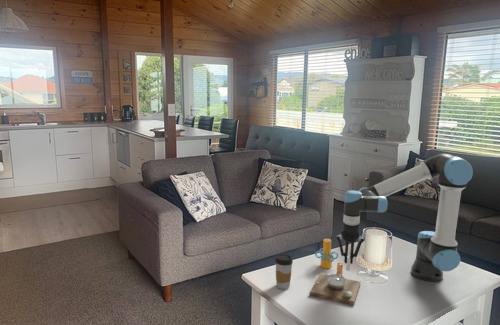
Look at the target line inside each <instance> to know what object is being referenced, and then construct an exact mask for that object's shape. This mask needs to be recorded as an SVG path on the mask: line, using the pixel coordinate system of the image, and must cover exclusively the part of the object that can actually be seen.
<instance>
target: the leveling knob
mask: <svg viewBox="0 0 500 325" xmlns="http://www.w3.org/2000/svg"><path fill="white" fill-rule="evenodd" d="M336 265H337V266H336V273H335V274H334V273H333V274H328V275H329V276H328V283H327V286H328V287H329V288H330V289H333V290H343V289H344V288H345V279H346V278H345V276H344V275H343V267H344V266H343V265H344V264H343V263H341V262H338V263H337V264H336Z"/></svg>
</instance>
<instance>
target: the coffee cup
mask: <svg viewBox="0 0 500 325" xmlns="http://www.w3.org/2000/svg"><path fill="white" fill-rule="evenodd" d="M274 262H275V280H276V283H275V284H276V287H277V288H278V289H280V290H288V289H289V288H290V285H291V277H292V270H293V269H292V267H293V257H292V256H291V255H290V254H285V253H280V254H277V255H276V257H275V260H274Z"/></svg>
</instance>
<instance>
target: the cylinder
mask: <svg viewBox="0 0 500 325" xmlns="http://www.w3.org/2000/svg"><path fill="white" fill-rule="evenodd" d="M322 246H323V247H322V248H320V249H319V250H317V251H316V252H315V253H314V254H315V255H314V256H315V257H316V259H320V265H319V266H320V268H322V269H331V268H332V266H333V262H334V261H335V260H337V259H338V258H339V254H338V252H336V251H332V239H331V238H324V239H323V244H322ZM318 253H319V254H320V256H318ZM333 254H335V255H336V257H334V255H333Z"/></svg>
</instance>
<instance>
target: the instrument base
mask: <svg viewBox="0 0 500 325" xmlns="http://www.w3.org/2000/svg"><path fill="white" fill-rule="evenodd" d="M329 275H330V274H324V273H319V275H318V277H317V279H316V280H315V281H314V282H313V283H314V284H313V285H312V287H311V289H310V291H309V297H313V298H314V297H315V298H317V299H323V300H328V301H331V302H336V303H340V304H344V305H350V306H355V304H356V300H357V297H358V294H359V291H360V289H361V288H360V287H361V281H359V280H354V279H349V278H345V288H344V289H343V290H333V289H330V288H329V287H328V286H327V283H328V276H329Z"/></svg>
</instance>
